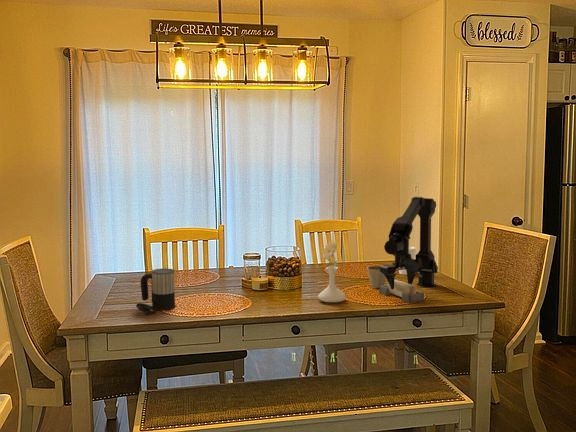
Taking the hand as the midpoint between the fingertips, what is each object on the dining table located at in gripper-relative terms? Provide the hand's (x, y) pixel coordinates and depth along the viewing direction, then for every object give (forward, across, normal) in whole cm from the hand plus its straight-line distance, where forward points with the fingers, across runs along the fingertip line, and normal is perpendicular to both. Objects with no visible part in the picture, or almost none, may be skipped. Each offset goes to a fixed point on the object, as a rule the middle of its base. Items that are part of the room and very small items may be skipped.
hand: (401, 287), depth 235 cm
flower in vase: (+4, -29, +8) cm, 30 cm away
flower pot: (+4, +3, +20) cm, 21 cm away
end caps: (+4, 0, 0) cm, 4 cm away
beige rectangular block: (+3, 0, 0) cm, 3 cm away
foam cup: (+4, +33, +36) cm, 49 cm away
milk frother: (+4, -94, +32) cm, 100 cm away
